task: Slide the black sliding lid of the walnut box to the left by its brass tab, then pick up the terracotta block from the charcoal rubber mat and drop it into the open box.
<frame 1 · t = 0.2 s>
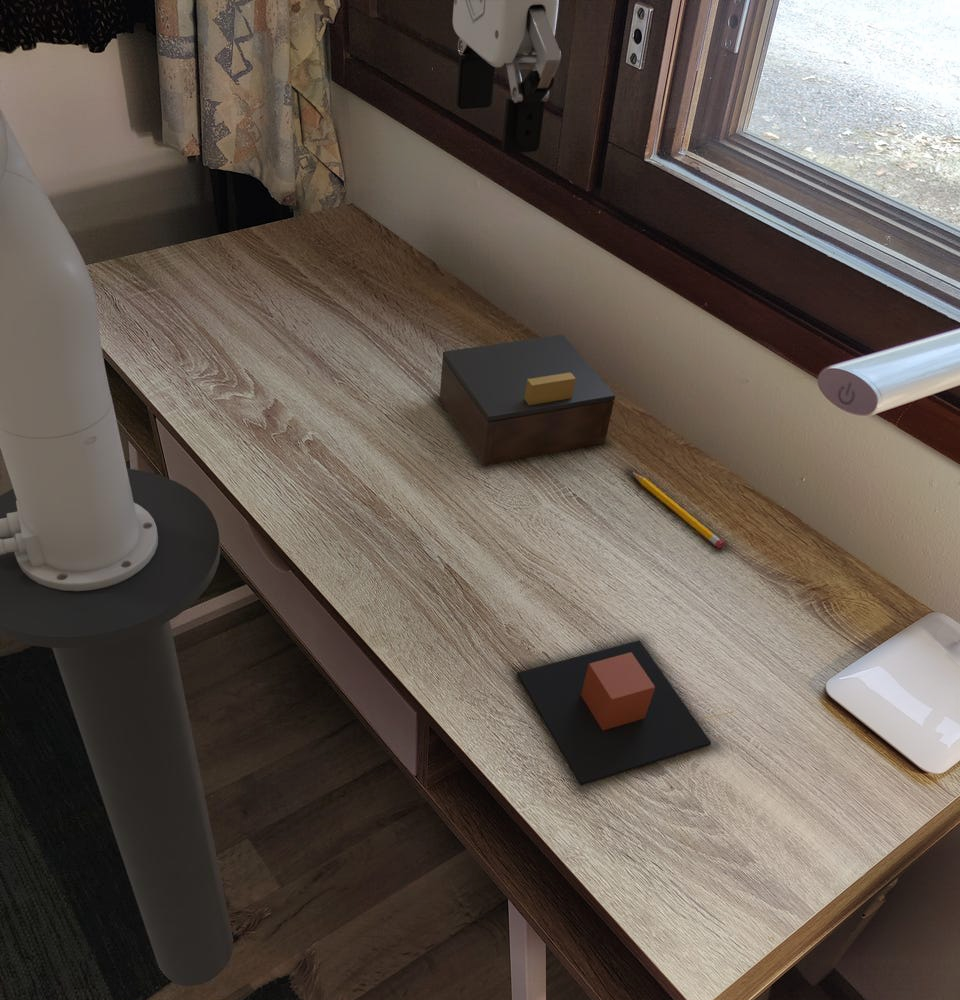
hand: (496, 128, 84), 31 cm above the table, tool pointing down, fingers open, 9 cm apart
pencil: (674, 511, 102), on the table
box: (521, 421, 110), on the table
block: (612, 706, 82), resting on mat
mat: (611, 709, 82), on the table
sliding lid: (529, 365, 105), point 7 cm above the table, slide at 0.0 cm
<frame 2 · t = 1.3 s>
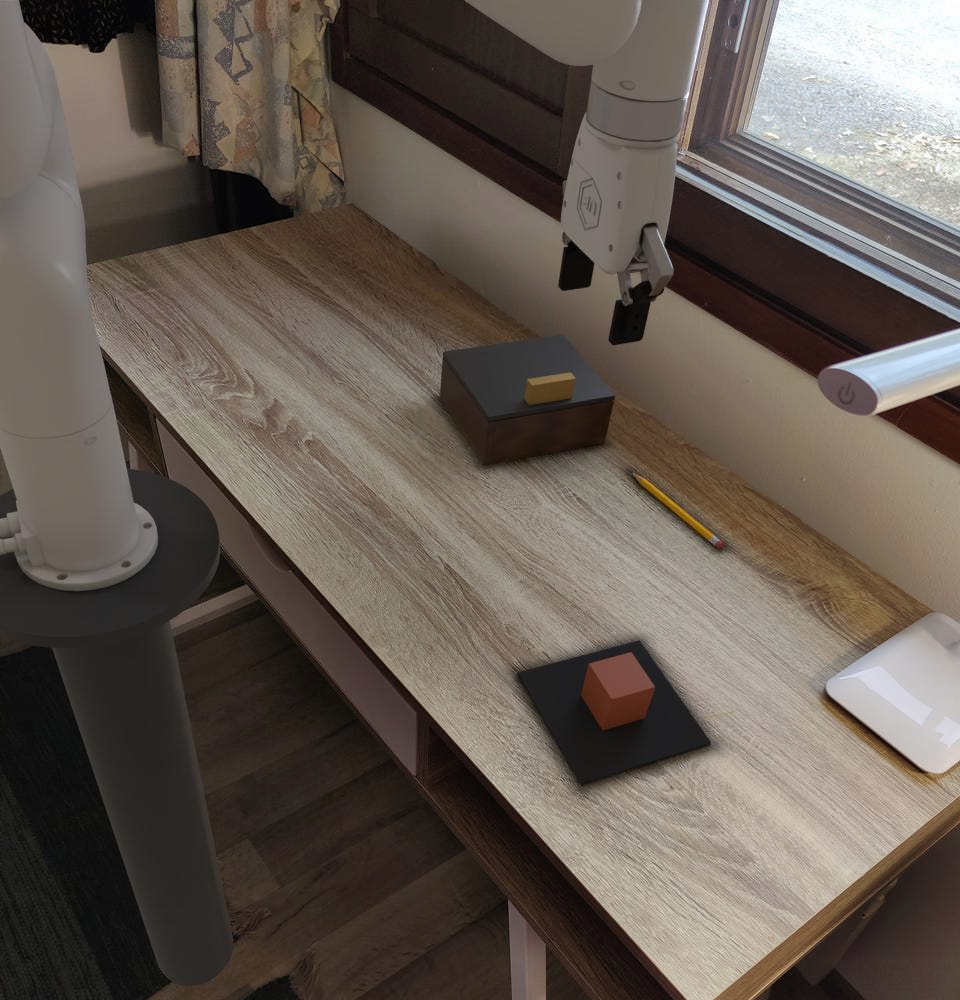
hand: (598, 313, 89), 19 cm above the table, tool pointing down, fingers open, 9 cm apart
nothing on the table moved.
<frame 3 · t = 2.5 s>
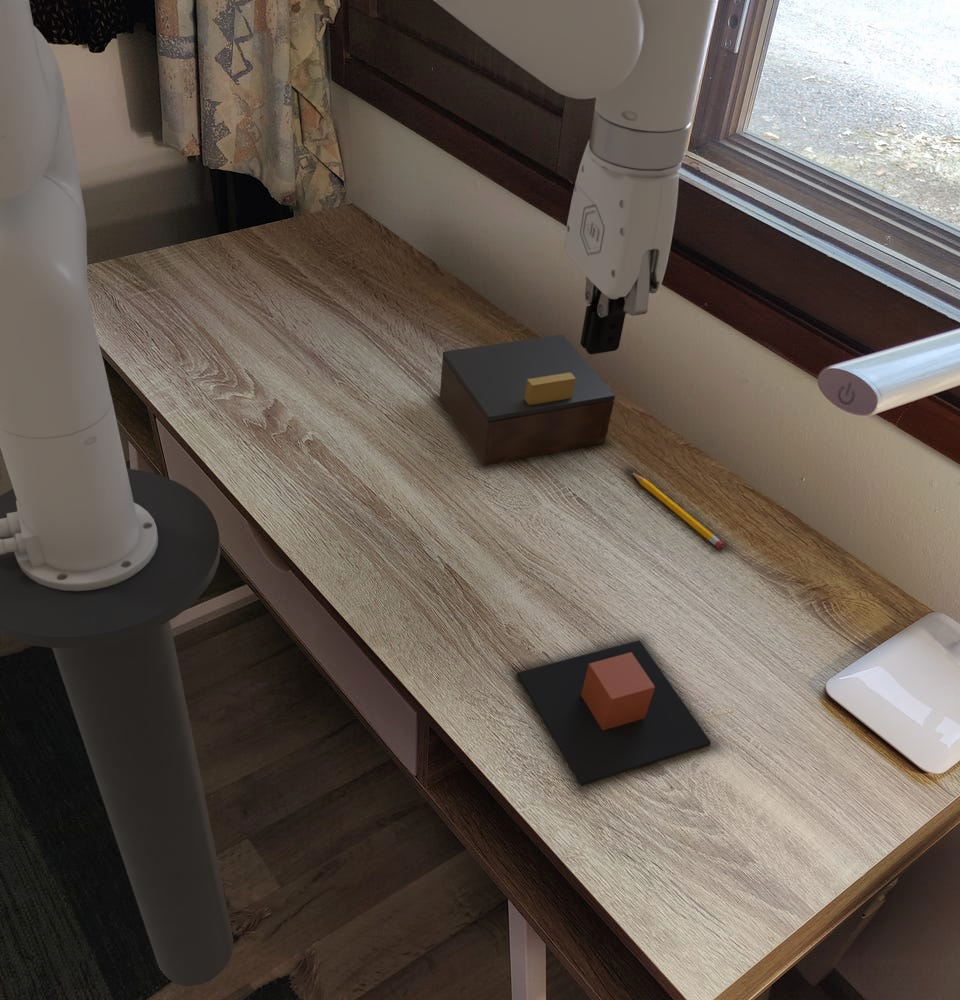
hand: (599, 347, 91), 16 cm above the table, tool pointing down, fingers closed
nothing on the table moved.
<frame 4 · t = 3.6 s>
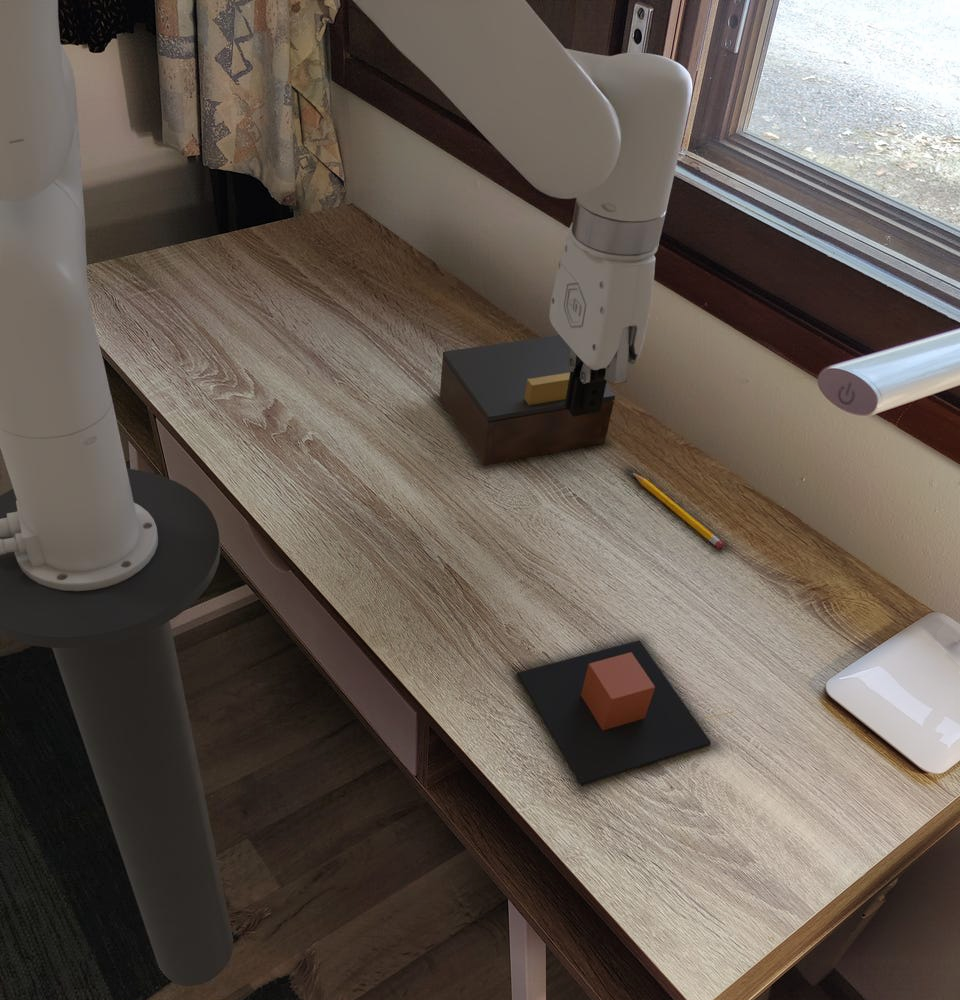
hand: (582, 409, 96), 9 cm above the table, tool pointing down, fingers closed
nothing on the table moved.
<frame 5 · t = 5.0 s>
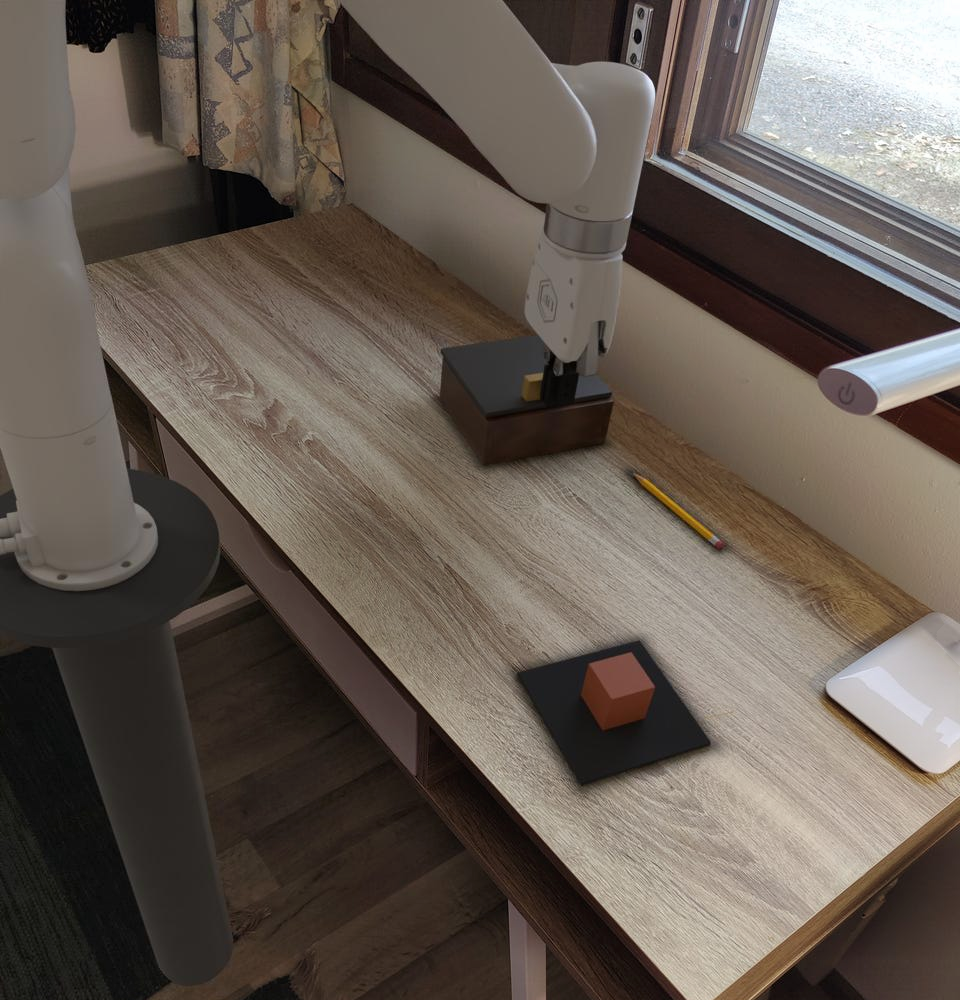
hand: (556, 401, 101), 7 cm above the table, tool pointing down, fingers closed
sliding lid: (526, 362, 105), point 7 cm above the table, slide at 0.7 cm, touching gripper
everything else where it was.
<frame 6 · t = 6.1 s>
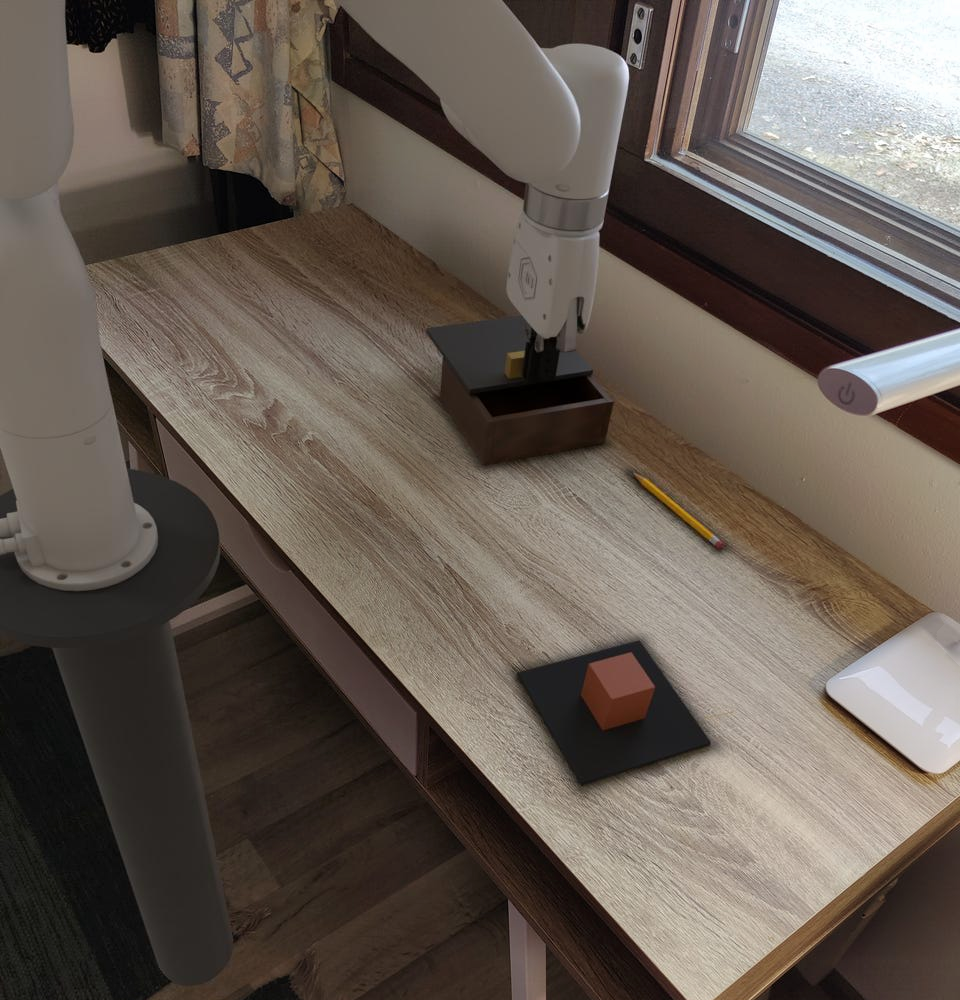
hand: (538, 378, 103), 7 cm above the table, tool pointing down, fingers closed
sliding lid: (509, 341, 108), point 7 cm above the table, slide at 5.1 cm, touching gripper
everything else where it was.
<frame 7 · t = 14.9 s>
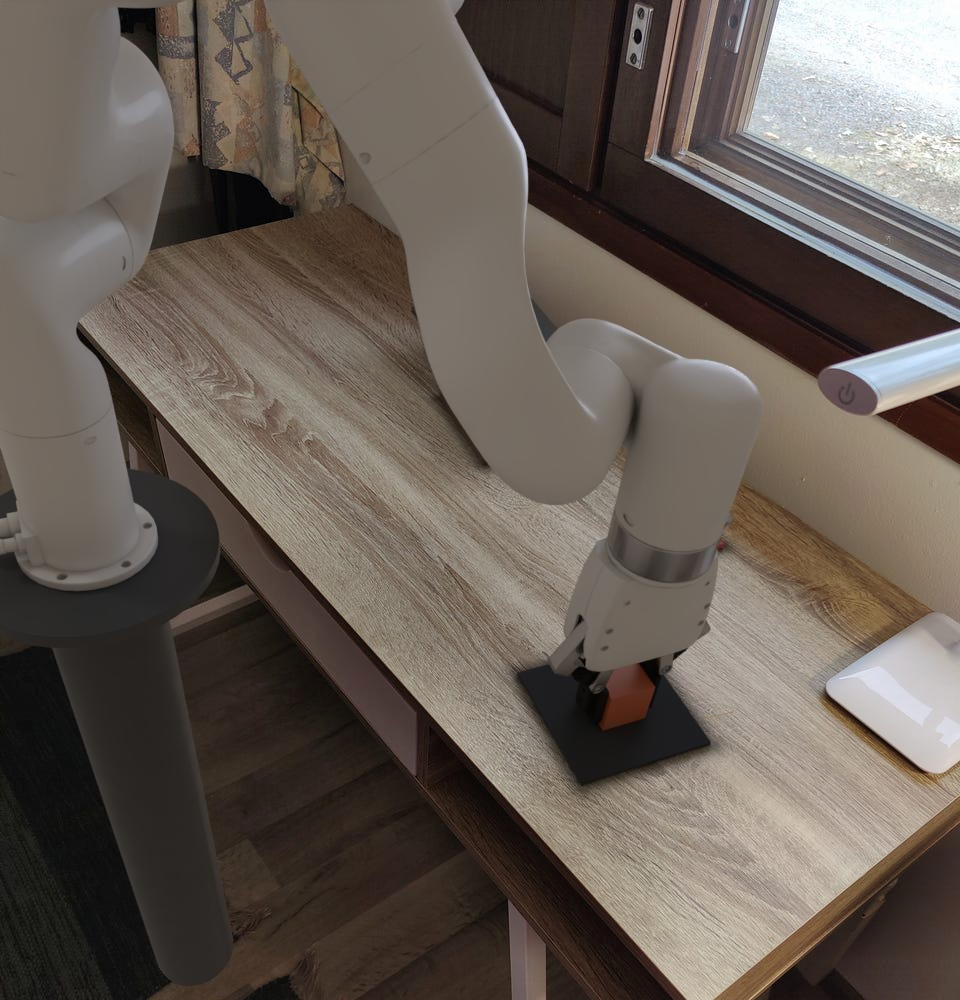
hand: (613, 702, 82), 1 cm above the table, tool pointing down, fingers closed on block, 4 cm apart
block: (612, 706, 82), resting on mat, touching gripper
sliding lid: (492, 319, 111), point 7 cm above the table, slide at 9.8 cm
everything else where it was.
when the fingers open (5 cm above the table, at t = 22.7 s): block drops 4 cm, resting on box.
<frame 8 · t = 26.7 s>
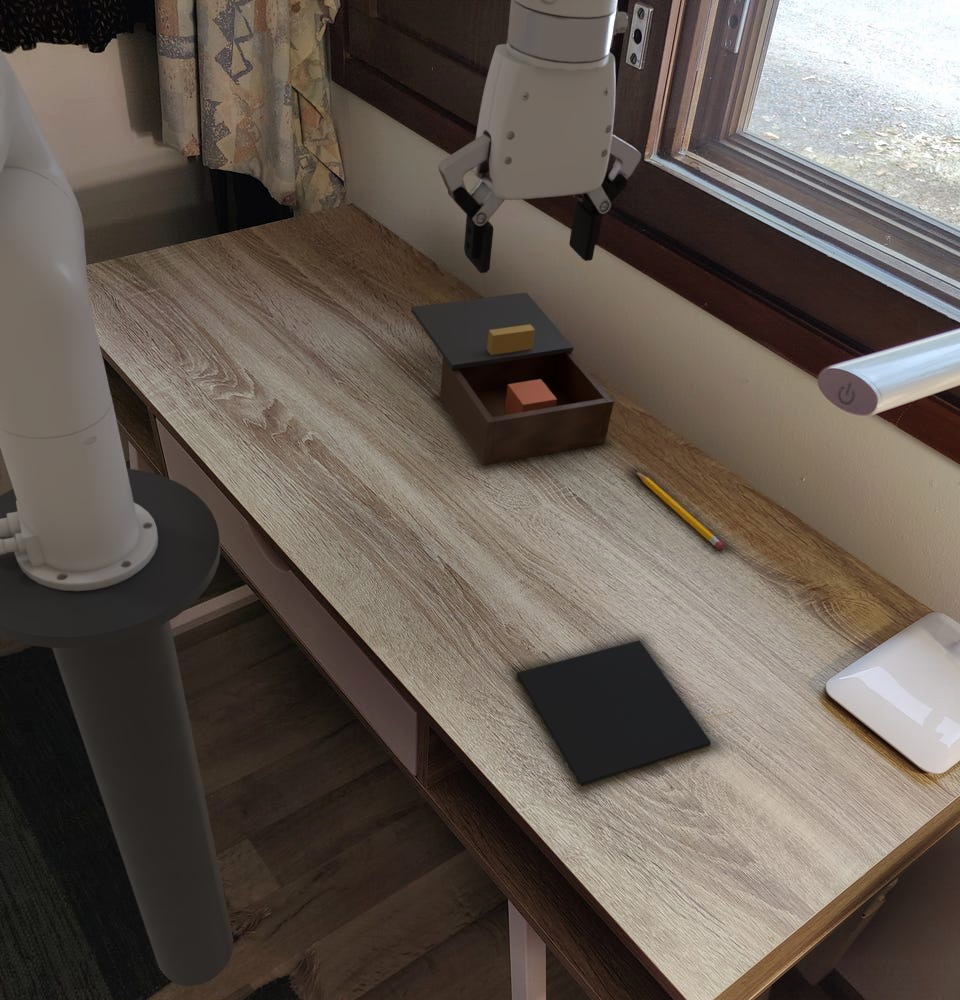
hand: (530, 259, 84), 24 cm above the table, tool pointing down, fingers open, 9 cm apart
block: (527, 422, 108), point 1 cm above the table, touching box
everything else where it was.
at the end: sliding lid slide at 9.8 cm; block inside the target area on the box (1.5 cm from its centre), point 0.8 cm above the box's base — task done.
